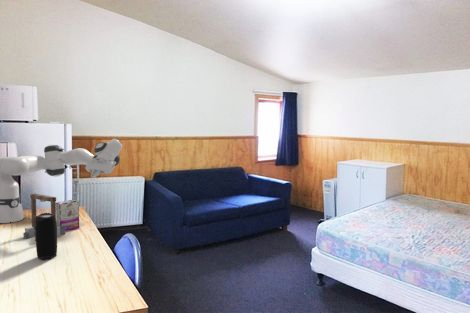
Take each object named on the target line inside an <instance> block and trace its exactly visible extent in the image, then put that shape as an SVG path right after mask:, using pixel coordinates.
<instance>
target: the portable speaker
mask: <svg viewBox="0 0 470 313" xmlns="http://www.w3.org/2000/svg"><path fill="white" fill-rule="evenodd" d="M35 232H36V242H35V248H36V256H37V258H38V259H40V261H48V260H51V259H52V258H53V257H57V254H58V237H57V222H56V214H51V212H44V213H43V212H42V213H40V214H38V215H36V227H35Z"/></svg>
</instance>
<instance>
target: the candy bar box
mask: <svg viewBox="0 0 470 313" xmlns="http://www.w3.org/2000/svg"><path fill="white" fill-rule="evenodd" d="M79 203H80V202H79V200H77V199H70V200H64V201H63V200H62V201H56V223H57V227H60V229H61V228H64V229H65V233H66V232H69V231H75V230H79V229H80V209H79V208H80V204H79Z"/></svg>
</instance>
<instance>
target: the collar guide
mask: <svg viewBox="0 0 470 313" xmlns="http://www.w3.org/2000/svg"><path fill="white" fill-rule="evenodd" d="M64 235H66V232H65V229H64V228H61V229H60V227H57V238H59V237H61V236H64ZM32 238H34V242H35V243H36V232H35V230H34V227H32V226H27V227H24V232H23V239H24V240H27V239H32Z"/></svg>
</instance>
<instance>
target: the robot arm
mask: <svg viewBox="0 0 470 313" xmlns="http://www.w3.org/2000/svg"><path fill="white" fill-rule="evenodd" d="M122 149H123V144H122V142H121V141H120V140H118V139H117V138H112V139H111V140H110V141H107V142H104V141H102V142H101V141H100V142H98V143H97V144H96V145H95V147H94V150H93V152H94V154H95V155H93V154H92V152H89V151H88V149H86V148H78V147H77V148H74V149H70V150H68V151H65V149H64V148H63V147H62V146H60V145H58V144H54V143H53V144H48V145H47V146H45V147H44V149H43V152H44V156H41V155H34V154H32V155H20V156H0V224H9V223H10V222H11V223H17V222H20V221H23V220H24V218H26V215H25V214H24V211H23V204H21V196H20V186H19V183H18V182H17V181H16V180H15V179H14V178H13V176H14V177H15V176H22V175H25V174H28V173H34V172H38V171H41V170H42V171H43V170H45V171H44V173H46V174H47V175H48V176H50V177H53V178H54V177H55V178H56V177H61V176H62V175H64V174H65V172H66V168H65V165H68V166H77V165H78V166H79V165H85V167H84V168H85V170H86V171H87V172H89V173H91V175H90V178H91V179H92V178H93V179H97V177H98V176H99V175H101V174H103V175H104V174H105V175H110V174H111V173H112V172H113V171H114V169H115V167H116V166H118V165H119V164H120V161H121V159H120V158H121V157H120V155H119V154H120V152H121V151H122Z"/></svg>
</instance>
